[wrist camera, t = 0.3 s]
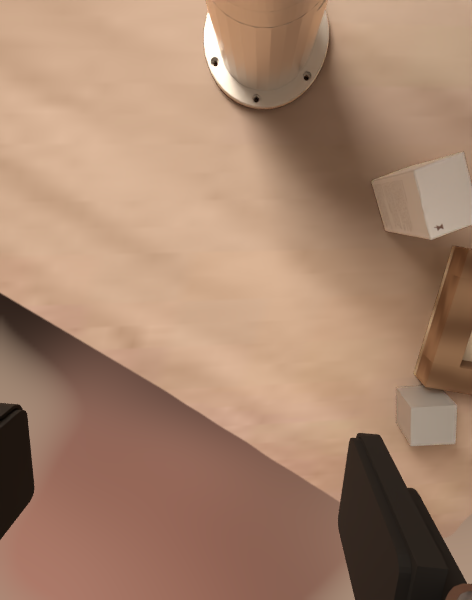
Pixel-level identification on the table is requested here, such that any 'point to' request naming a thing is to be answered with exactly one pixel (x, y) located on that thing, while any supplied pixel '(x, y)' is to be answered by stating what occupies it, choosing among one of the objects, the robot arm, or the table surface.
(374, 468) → the robot arm
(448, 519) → the table surface
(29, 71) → the table surface
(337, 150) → the table surface
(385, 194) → the skincare box
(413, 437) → the grey cube
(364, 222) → the table surface
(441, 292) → the socket block
